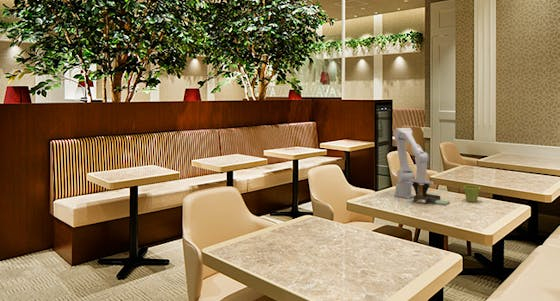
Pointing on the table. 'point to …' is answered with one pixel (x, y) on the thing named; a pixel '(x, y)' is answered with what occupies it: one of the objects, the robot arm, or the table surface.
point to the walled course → (428, 198)
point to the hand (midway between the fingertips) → (420, 195)
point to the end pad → (441, 202)
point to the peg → (420, 192)
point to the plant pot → (471, 193)
